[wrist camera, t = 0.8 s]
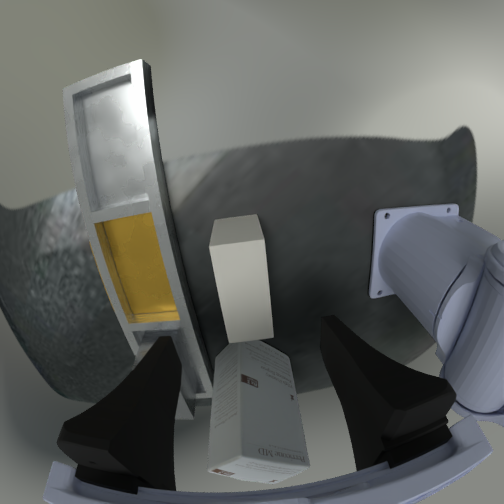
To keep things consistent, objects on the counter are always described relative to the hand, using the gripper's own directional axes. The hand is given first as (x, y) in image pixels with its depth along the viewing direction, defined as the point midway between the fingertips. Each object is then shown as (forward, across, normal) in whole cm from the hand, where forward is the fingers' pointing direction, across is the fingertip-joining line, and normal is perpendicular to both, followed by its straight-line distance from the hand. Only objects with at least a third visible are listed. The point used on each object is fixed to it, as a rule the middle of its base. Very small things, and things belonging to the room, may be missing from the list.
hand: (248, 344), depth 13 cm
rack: (+9, +8, -1) cm, 12 cm away
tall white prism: (+9, 0, 0) cm, 9 cm away
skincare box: (+9, 0, +10) cm, 14 cm away
